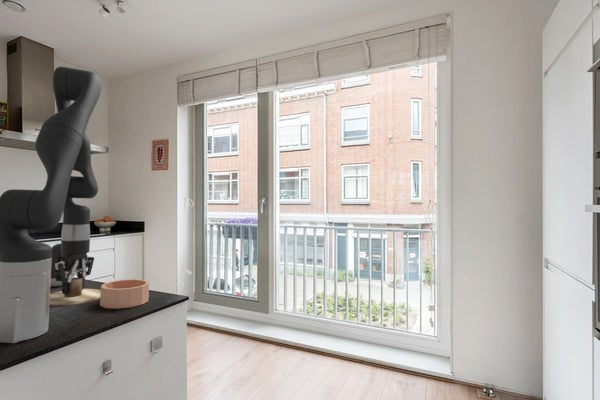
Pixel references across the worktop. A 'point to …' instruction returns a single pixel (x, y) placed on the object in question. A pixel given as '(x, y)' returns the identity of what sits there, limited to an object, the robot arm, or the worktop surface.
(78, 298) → the lid
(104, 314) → the worktop surface
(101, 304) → the bowl
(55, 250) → the pump dispenser
